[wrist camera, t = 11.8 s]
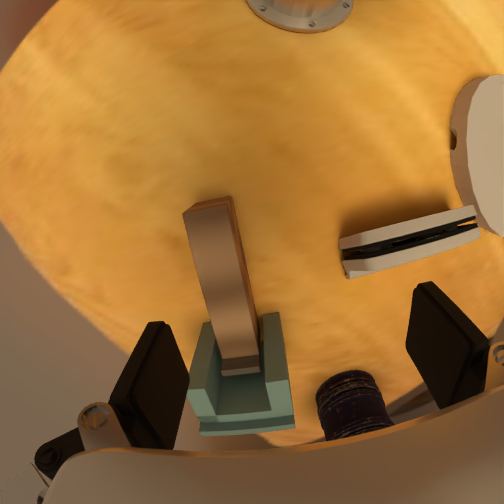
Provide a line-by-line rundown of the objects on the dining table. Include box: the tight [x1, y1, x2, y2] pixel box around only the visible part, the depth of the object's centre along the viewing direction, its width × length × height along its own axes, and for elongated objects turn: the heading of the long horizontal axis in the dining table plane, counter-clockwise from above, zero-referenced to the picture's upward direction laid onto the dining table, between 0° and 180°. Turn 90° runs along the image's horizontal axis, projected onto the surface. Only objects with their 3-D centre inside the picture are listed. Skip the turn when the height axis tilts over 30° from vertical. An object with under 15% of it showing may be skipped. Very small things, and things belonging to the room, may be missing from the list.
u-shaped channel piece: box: [187, 312, 295, 436], centre depth 30 cm, size 6×10×13 cm, turn 101°
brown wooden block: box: [182, 196, 261, 376], centre depth 29 cm, size 17×4×8 cm, turn 11°
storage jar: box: [316, 370, 394, 441], centre depth 32 cm, size 10×10×15 cm
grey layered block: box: [339, 205, 480, 279], centre depth 28 cm, size 17×5×10 cm, turn 104°
